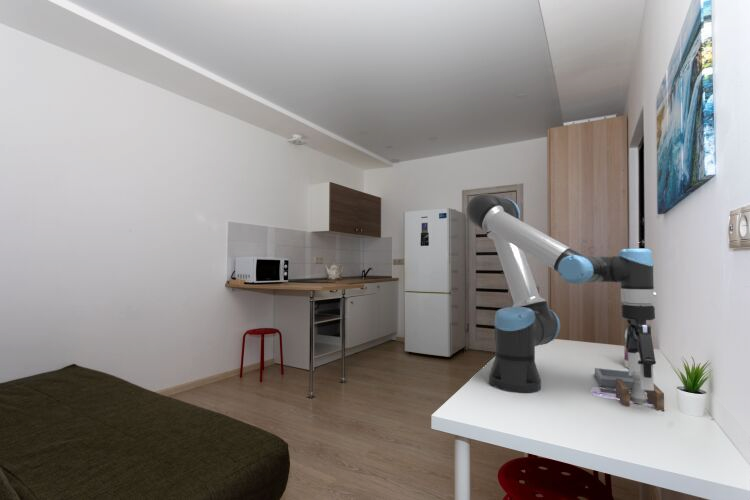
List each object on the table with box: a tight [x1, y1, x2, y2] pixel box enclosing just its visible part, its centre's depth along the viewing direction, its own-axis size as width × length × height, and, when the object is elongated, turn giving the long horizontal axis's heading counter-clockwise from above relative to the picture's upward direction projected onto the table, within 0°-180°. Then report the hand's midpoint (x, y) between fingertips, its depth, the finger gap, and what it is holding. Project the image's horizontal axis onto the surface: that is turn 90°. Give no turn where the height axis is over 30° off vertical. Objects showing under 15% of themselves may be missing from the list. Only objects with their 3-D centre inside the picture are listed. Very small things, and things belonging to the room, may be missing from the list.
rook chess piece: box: [630, 371, 648, 405], centre depth 103 cm, size 4×4×8 cm
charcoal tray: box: [594, 367, 647, 393], centre depth 119 cm, size 13×13×2 cm
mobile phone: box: [590, 386, 654, 407], centre depth 107 cm, size 8×1×15 cm
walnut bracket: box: [615, 378, 665, 412], centre depth 103 cm, size 9×10×4 cm
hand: (640, 382), depth 103 cm, fingers open, 13 cm apart
